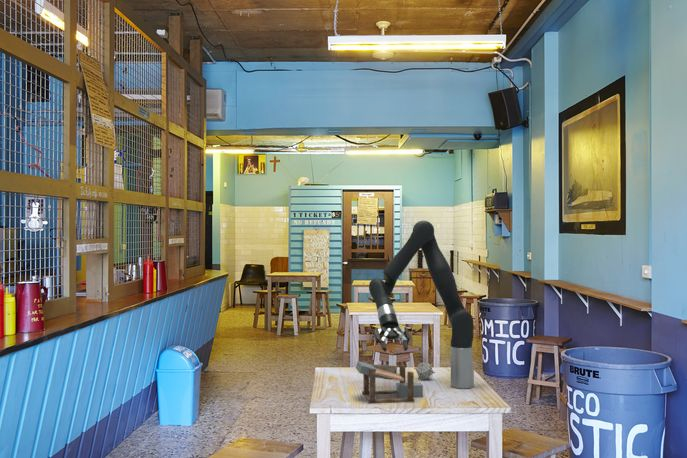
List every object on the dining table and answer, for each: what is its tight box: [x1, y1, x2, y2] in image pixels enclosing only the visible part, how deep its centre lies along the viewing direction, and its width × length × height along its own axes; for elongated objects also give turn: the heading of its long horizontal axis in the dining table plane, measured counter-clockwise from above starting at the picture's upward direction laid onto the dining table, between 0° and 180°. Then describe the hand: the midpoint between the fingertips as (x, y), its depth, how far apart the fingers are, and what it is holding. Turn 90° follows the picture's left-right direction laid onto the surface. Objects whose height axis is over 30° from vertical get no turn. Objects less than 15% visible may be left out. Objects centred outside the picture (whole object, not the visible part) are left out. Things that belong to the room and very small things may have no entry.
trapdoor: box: [355, 360, 404, 381], centre depth 245 cm, size 18×11×3 cm, turn 98°
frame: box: [361, 361, 415, 404], centre depth 246 cm, size 18×15×13 cm
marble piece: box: [371, 363, 398, 380], centre depth 289 cm, size 17×15×4 cm
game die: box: [413, 360, 436, 381], centre depth 280 cm, size 9×8×10 cm
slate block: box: [395, 382, 424, 399], centre depth 248 cm, size 5×5×10 cm
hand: (395, 349), depth 245 cm, fingers open, 8 cm apart
